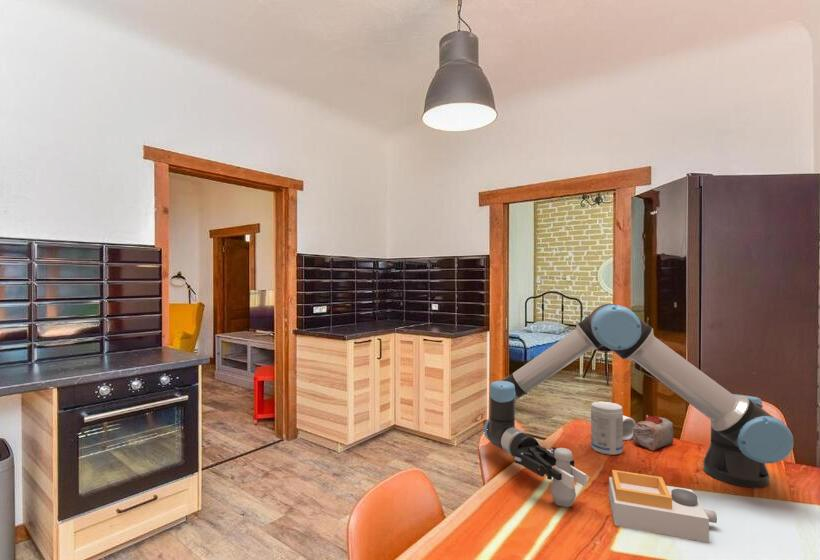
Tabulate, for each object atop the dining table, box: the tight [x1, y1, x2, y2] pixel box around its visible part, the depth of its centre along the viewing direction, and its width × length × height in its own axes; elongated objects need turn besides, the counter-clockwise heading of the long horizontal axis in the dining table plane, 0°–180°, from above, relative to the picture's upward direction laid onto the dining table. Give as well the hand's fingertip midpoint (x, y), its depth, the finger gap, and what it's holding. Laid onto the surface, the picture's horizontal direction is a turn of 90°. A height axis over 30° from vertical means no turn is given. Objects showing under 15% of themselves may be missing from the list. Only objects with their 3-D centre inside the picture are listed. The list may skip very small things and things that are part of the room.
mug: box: [623, 414, 637, 441], centre depth 155 cm, size 12×10×8 cm
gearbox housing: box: [608, 469, 718, 544], centre depth 100 cm, size 21×14×8 cm, turn 70°
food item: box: [632, 414, 674, 451], centre depth 147 cm, size 14×8×10 cm, turn 123°
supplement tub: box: [590, 401, 624, 456], centre depth 141 cm, size 10×10×15 cm
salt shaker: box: [550, 447, 577, 508], centre depth 106 cm, size 6×6×13 cm
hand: (579, 481), depth 100 cm, fingers closed on salt shaker, 3 cm apart
